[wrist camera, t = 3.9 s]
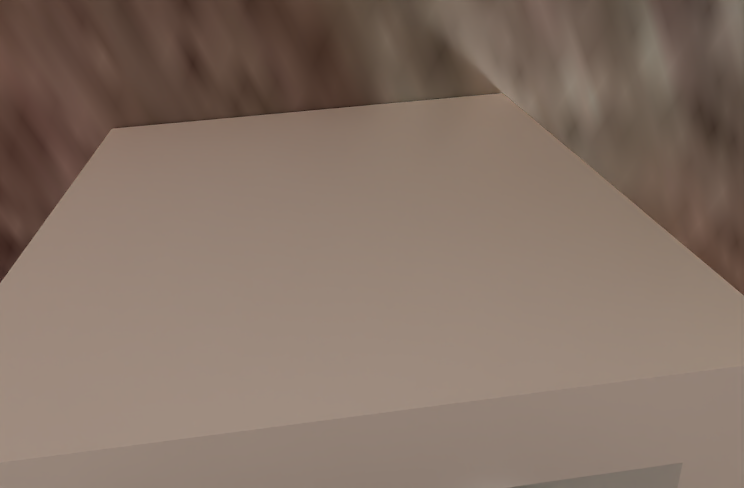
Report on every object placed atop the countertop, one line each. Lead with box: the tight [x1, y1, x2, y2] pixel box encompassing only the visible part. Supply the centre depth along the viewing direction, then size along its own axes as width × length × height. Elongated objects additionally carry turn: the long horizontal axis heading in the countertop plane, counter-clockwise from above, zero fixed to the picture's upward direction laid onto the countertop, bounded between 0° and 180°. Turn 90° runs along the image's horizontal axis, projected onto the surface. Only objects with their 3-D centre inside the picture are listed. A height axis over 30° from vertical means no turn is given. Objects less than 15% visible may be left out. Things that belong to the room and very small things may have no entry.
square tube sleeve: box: [0, 93, 744, 488], centre depth 9 cm, size 6×6×7 cm
